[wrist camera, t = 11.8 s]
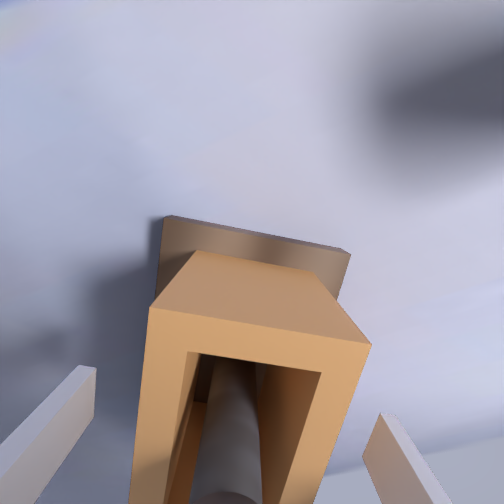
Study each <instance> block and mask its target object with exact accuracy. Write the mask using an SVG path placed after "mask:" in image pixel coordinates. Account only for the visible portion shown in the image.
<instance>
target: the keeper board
mask: <svg viewBox="0 0 504 504" xmlns="http://www.w3.org/2000/svg"><path fill="white" fill-rule="evenodd" d="M196 250H199V251H204V252H210V253H215V254H220V255H225V256H231V257H236V258H241V259H247V260H252V261H257V262H263V263H268V264H273V265H278V266H284V267H289V268H294V269H300V270H305V271H310V272H313V273H314V274H315V275H316V276H317V278H318V279H319V280H320V281H321V283H322V284H323V285H324V286H325V287H326V289H327V290H328V291H329V292H330V294H331V295H332V296H333V297H334V299H335V300H336V301H337V298H338V295H339V291H340V288H341V285H342V282H343V279H344V276H345V272H346V269H347V266H348V263H349V260H350V256H351V254H349V253H348V252H346V251H344V250H343V249H341V248H336V247H331V246H325V245H320V244H315V243H310V242H305V241H300V240H295V239H290V238H285V237H280V236H275V235H270V234H265V233H260V232H255V231H250V230H245V229H239V228H234V227H229V226H224V225H219V224H214V223H209V222H204V221H199V220H194V219H189V218H184V217H179V216H174V215H171V216H168V217H165V218H164V221H163V229H162V238H161V247H160V256H159V265H158V274H157V283H156V292H155V300H156V298H157V297H158V296H159V295H160V294H161V292H162V291H163V290H164V289H165V288H166V286H167V285H168V284H169V283H170V282H171V280H172V279H173V278H174V277H175V276H176V274H177V273H178V272H179V271H180V270H181V268H182V267H183V266H184V265H185V264H186V262H187V261H188V260H189V259H190V258H191V256H192V255H193V254H194V253H195V252H196ZM155 300H154V301H155ZM266 368H267V364H266V363H260V362H253V361H247V360H241V359H234V358H228V357H222V356H216V355H209V354H203V353H202V354H201V360H200V365H199V371H198V377H197V382H196V388H195V394H194V400H193V401H195V402H202V403H207V407H206V412H205V417H204V423H203V428H202V434H201V439H200V444H199V450H198V455H197V461H196V466H195V471H194V477H193V482H192V488H191V493H190V498H189V504H263V502H262V482H261V463H260V443H259V424H258V404H257V403H258V399H259V395H260V391H261V387H262V383H263V380H264V376H265V372H266Z"/></svg>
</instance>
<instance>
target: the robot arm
mask: <svg viewBox="0 0 504 504" xmlns="http://www.w3.org/2000/svg"><path fill="white" fill-rule="evenodd" d="M95 386H96V368H95V367H89V366H83V365H78V366H77V367H76V368H75V369H74V370H73V371H72V372H71V373H70V374H69V375H68V376H67V377H66V378H65V379H64V380H63V381H62V382H61V383H60V384H59V385H58V386H57V387H56V388H55V389H54V390H53V391H52V392H51V393H50V394H49V396H48V397H47V398H46V399H45V400H44V401H43V402H42V403H41V404H40V405H39V406H38V407H37V408H36V409H35V410H34V411H33V412H32V413H31V414H30V415H29V416H28V417H27V418H26V419H25V420H24V421H23V422H22V423H21V424H20V425H19V426H18V427H17V428H16V429H15V430H14V431H13V432H12V433H11V434H10V435H9V436H8V437H7V438H6V439H5V440H4V441H3V442H2V443H1V444H0V504H34V503H35V502H36V500H37V499H38V498H39V496H40V495H41V493H42V492H43V490H44V489H45V487H46V486H47V484H48V483H49V482H50V480H51V479H52V477H53V476H54V474H55V473H56V471H57V470H58V468H59V467H60V466H61V464H62V463H63V461H64V460H65V458H66V457H67V455H68V454H69V452H70V451H71V450H72V448H73V447H74V445H75V444H76V442H77V441H78V439H79V438H80V436H81V435H82V434H83V432H84V431H85V429H86V428H87V426H88V425H89V423H90V422H91V420H92V419H93V418H94V405H95ZM362 457H363V460H364V462H365V465H366V467H367V469H368V472H369V474H370V476H371V479H372V481H373V483H374V486H375V488H376V490H377V493H378V495H379V497H380V500H381V502H382V504H453V503H452V501H451V500H450V498H449V497H448V495H447V494H446V492H445V491H444V489H443V487H442V486H441V484H440V483H439V481H438V480H437V478H436V477H435V475H434V474H433V472H432V471H431V469H430V467H429V466H428V465H427V463H426V461H425V460H424V458H423V457H422V455H421V454H420V452H419V451H418V449H417V448H416V446H415V444H414V443H413V441H412V440H411V438H410V437H409V435H408V434H407V432H406V431H405V429H404V428H403V426H402V424H401V423H400V421H399V420H398V418H397V417H396V415H390V414H384V413H380V415H379V417H378V419H377V422H376V424H375V427H374V429H373V432H372V434H371V436H370V439H369V441H368V444H367V446H366V448H365V451H364V453H363V456H362Z"/></svg>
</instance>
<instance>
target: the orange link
mask: <svg viewBox="0 0 504 504" xmlns="http://www.w3.org/2000/svg"><path fill="white" fill-rule="evenodd" d="M371 346H372V344H371V343H370V342H369V340H368V339H367V338H366V337H365V335H364V334H363V333H362V332H361V331H360V329H359V328H358V327H357V326H356V324H355V323H354V322H353V321H352V319H351V318H350V317H349V316H348V315H347V313H346V312H345V311H344V310H343V308H342V307H341V306H340V305H339V303H338V302H337V301H336V300H335V299H334V297H333V296H332V295H331V294H330V292H329V291H328V290H327V289H326V287H325V286H324V285H323V284H322V283H321V281H320V280H319V279H318V278H317V276H316V275H315V274H314V273H313V272H310V271H305V270H300V269H294V268H289V267H284V266H278V265H273V264H268V263H263V262H257V261H252V260H247V259H241V258H236V257H231V256H225V255H220V254H215V253H210V252H204V251H199V250H196V252H195V253H194V254H193V255H192V256H191V258H190V259H189V260H188V261H187V262H186V264H185V265H184V266H183V267H182V268H181V270H180V271H179V272H178V273H177V274H176V276H175V277H174V278H173V279H172V280H171V282H170V283H169V284H168V285H167V286H166V288H165V289H164V290H163V291H162V292H161V294H160V295H159V296H158V297H157V298H156V300H155V301H154V302H153V303H152V304H151V306H150V307H149V316H148V326H147V335H146V344H145V353H144V363H143V372H142V381H141V390H140V400H139V409H138V418H137V427H136V436H135V446H134V455H133V464H132V473H131V483H130V492H129V501H128V504H189V498H190V493H191V488H192V482H193V477H194V471H195V466H196V461H197V455H198V450H199V444H200V439H201V434H202V428H203V423H204V417H205V412H206V407H207V403H202V402H195V401H193V400H194V394H195V388H196V382H197V377H198V371H199V365H200V360H201V354H202V353H203V354H209V355H216V356H222V357H228V358H234V359H241V360H247V361H253V362H260V363H266V364H267V368H266V372H265V376H264V380H263V383H262V387H261V391H260V395H259V399H258V403H257V404H258V424H259V443H260V463H261V482H262V502H263V504H313V502H314V499H315V496H316V493H317V491H318V488H319V485H320V483H321V480H322V478H323V475H324V472H325V470H326V467H327V464H328V462H329V459H330V456H331V453H332V451H333V448H334V445H335V443H336V440H337V437H338V435H339V432H340V429H341V427H342V424H343V421H344V419H345V416H346V413H347V410H348V408H349V405H350V402H351V400H352V397H353V394H354V392H355V389H356V386H357V384H358V381H359V378H360V375H361V373H362V370H363V367H364V365H365V362H366V359H367V357H368V354H369V351H370V349H371Z"/></svg>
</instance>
